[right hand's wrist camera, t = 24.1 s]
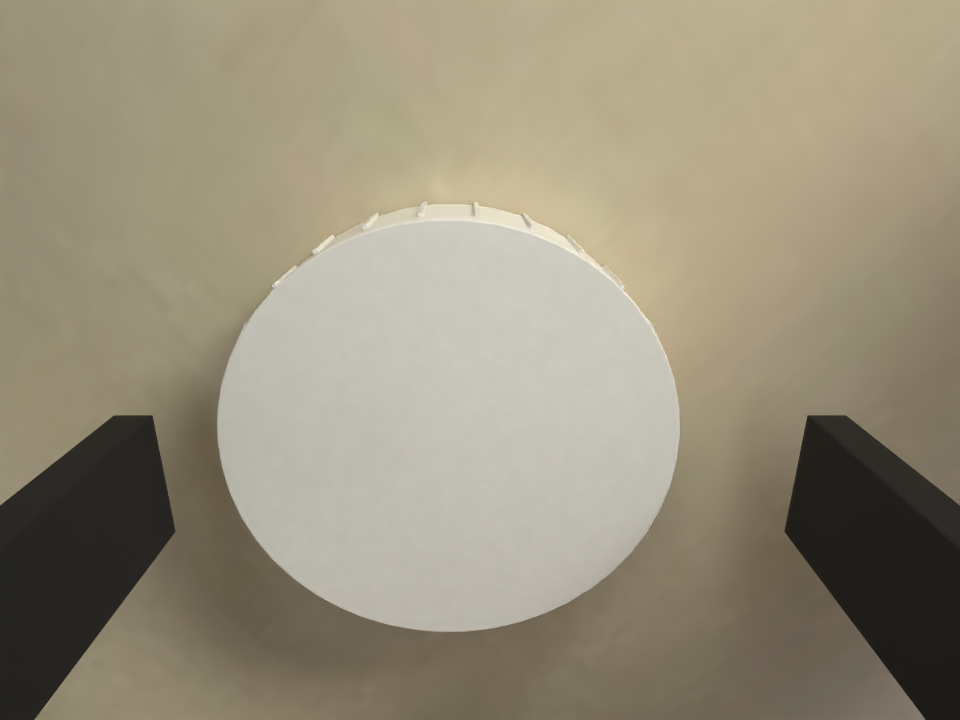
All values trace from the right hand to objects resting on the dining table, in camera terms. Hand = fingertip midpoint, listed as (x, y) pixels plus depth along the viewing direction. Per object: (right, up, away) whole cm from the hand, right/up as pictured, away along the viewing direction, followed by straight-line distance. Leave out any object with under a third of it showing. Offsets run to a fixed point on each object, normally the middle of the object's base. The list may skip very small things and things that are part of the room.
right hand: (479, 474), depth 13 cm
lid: (-1, 0, +1) cm, 1 cm away
